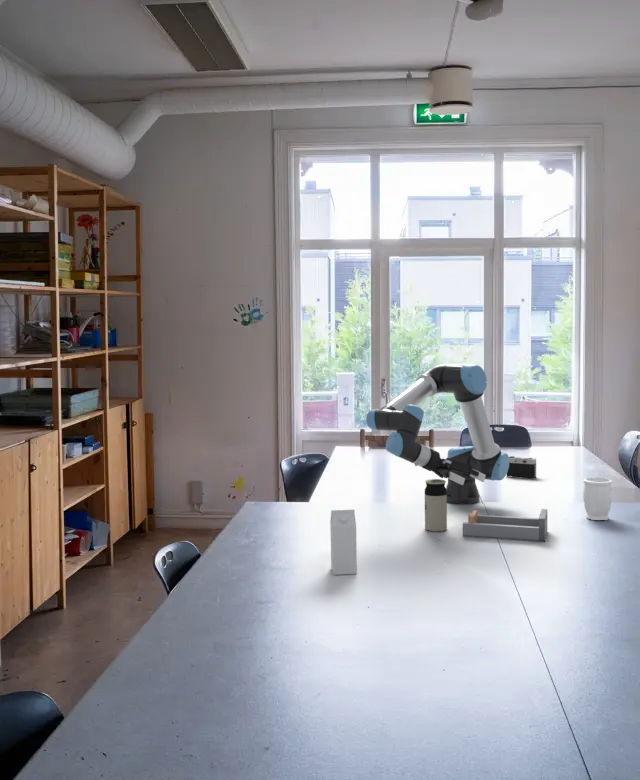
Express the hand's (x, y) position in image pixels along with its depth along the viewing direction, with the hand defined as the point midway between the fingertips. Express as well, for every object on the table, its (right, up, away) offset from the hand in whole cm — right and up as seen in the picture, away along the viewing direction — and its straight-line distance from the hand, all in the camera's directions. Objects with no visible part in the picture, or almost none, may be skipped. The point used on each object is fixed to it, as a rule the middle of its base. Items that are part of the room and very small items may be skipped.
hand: (473, 480), depth 287 cm
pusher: (-1, -17, -4) cm, 18 cm away
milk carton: (-49, -22, -48) cm, 73 cm away
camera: (+44, -10, +102) cm, 112 cm away
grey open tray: (+10, -18, -8) cm, 22 cm away
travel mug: (-14, -18, 0) cm, 23 cm away
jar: (+50, -16, +12) cm, 53 cm away
